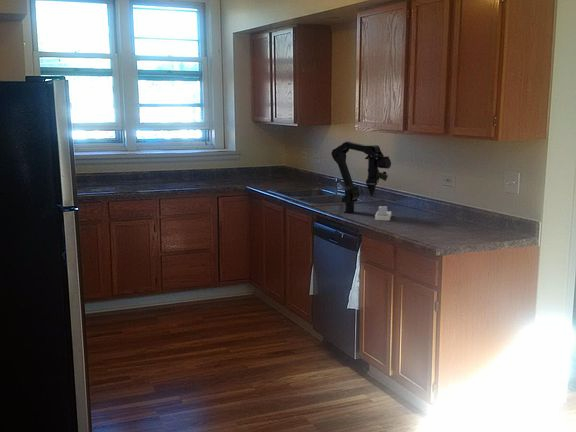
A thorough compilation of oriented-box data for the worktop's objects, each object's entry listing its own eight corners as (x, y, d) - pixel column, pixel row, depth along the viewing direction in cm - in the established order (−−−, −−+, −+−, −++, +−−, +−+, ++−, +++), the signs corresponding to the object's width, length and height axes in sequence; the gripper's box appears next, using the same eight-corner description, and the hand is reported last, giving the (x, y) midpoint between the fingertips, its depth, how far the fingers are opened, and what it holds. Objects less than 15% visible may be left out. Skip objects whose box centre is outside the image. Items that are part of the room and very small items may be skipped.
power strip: (377, 215, 374) (377, 209, 374) (391, 215, 373) (391, 210, 372) (374, 220, 359) (375, 214, 358) (389, 220, 357) (389, 215, 357)
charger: (379, 218, 364) (379, 205, 363) (386, 218, 363) (387, 206, 362) (378, 219, 360) (378, 207, 359) (386, 220, 359) (386, 207, 358)
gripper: (386, 169, 359) (385, 197, 362) (388, 166, 377) (387, 192, 380) (366, 168, 362) (365, 196, 364) (369, 165, 380) (368, 192, 382)
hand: (372, 194), depth 373 cm, fingers open, 9 cm apart
